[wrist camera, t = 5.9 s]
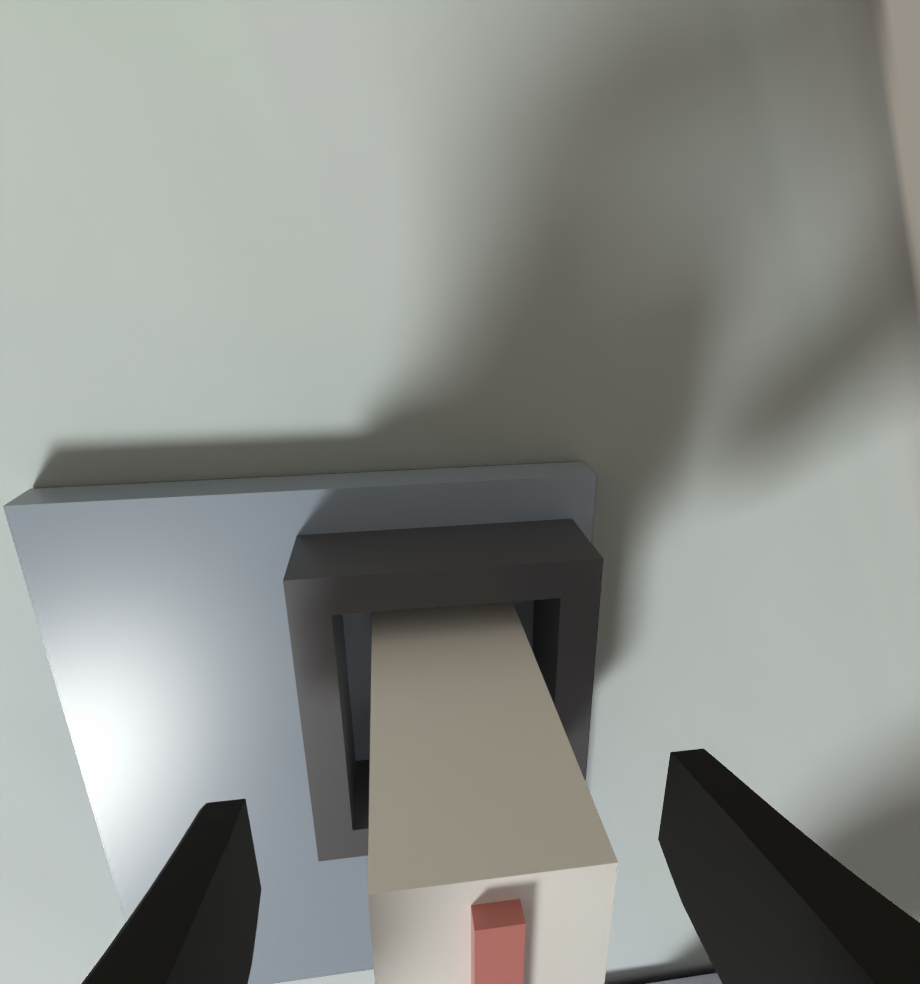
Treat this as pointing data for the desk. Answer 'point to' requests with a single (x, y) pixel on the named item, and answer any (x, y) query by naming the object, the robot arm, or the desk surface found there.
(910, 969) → the robot arm
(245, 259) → the desk surface
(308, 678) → the frame
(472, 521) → the board
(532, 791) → the plug
